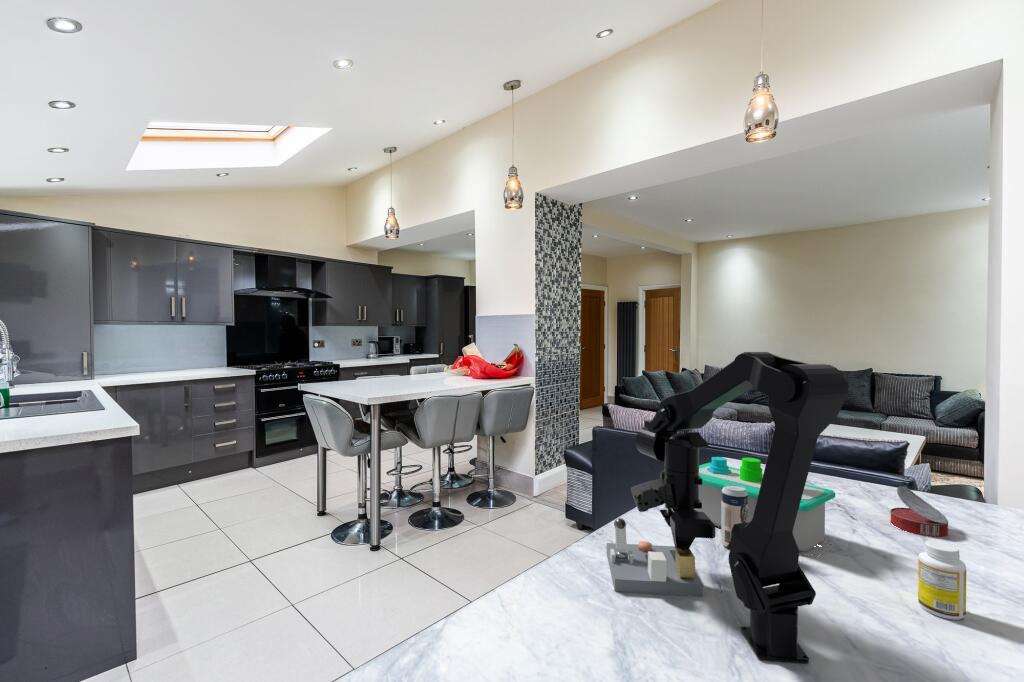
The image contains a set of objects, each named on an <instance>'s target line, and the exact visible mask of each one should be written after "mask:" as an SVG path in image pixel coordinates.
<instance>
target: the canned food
mask: <svg viewBox="0 0 1024 682" xmlns="http://www.w3.org/2000/svg"><path fill="white" fill-rule="evenodd" d="M896 493H897V496H898V497H899V499H900V500H901V502H902V503H903V504H904V505H905V506H906V507H894V508H891V509H890V524H891V523H892V524H893V525H894V526H896V527H898V528H900V529H902V530H901V531H903V530H904V531H903V532H905V531H907V532H906V533H909V534H912V533H913V534H914V535H916V536H917V535H918V536H921V537H927V536H928V537H929V538H945V537H947V536H949V519H947V517H946V515H944V514H942V513H941V511H940V510H938V509H937V508H935V507H933V505H931V504H930V503H928V502H927V501H925V500H924V499H923V498H922V497H920V496H919V495H917V494H916V493H914V491H912V490H911V489H910V488H908V487H907V486H902V485H899V486H898V487H897V488H896ZM894 526H893V527H894ZM896 527H895V528H896ZM898 528H897V529H898ZM900 529H899V530H900Z"/></svg>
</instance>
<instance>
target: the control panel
mask: <svg viewBox="0 0 1024 682" xmlns="http://www.w3.org/2000/svg"><path fill="white" fill-rule="evenodd" d="M727 462H728V460H727V458H725V457H722V456H712V457H711V462H707V463H703V464H699V476H700V477H701V478H702V485H699V500H700V501H701V502H702V509H696V508H694V510H697V511H698V512H704V513H705V514H706V515H707V516H708V517H709V518H710V519H711V521H712V522H713V523H714V524H715V527H718V528H721V507H722V489H723V487H724V486H725V485H738V486H741V487H744V488H745V489H746V492H747V493H748V520H747V522H750V521H751V520H752V518H753V514H754V510H755V506H756V502H757V498H758V494H759V490H760V486H761V482H762V478H763V474H764V473H763V468H762V464H761V463H762V461H761V459H759V458H754V457H742V458H741V465H740V466H739V468H737V467H733V466H728V463H727ZM834 498H836V493H835V491H834V490H832V489H829V488H825V487H820V486H817V485H816V486H815V485H812V484H807V483H806V484H805V487H804V491H803V495H802V498H801V502H800V506H799V509H798V513H797V517H796V520H795V524H794V528H793V535H794V538H795V540H796V543H797V545H798V548H799V554H801V553H802V555H804V554H806V556H808V555H809V556H808V557H811V558H816V557H817V558H818V557H820V556H821V555H823V554H824V553H826V552H827V551H829V550H830V549H831V547H832V548H833V547H835V544H834V543H833V542H830V541H825V536H826V535H825V534H826V533H825V532H826V529H825V528H826V527H825V526H826V503H827V502H828V501H831V500H832V499H834ZM817 544H818V545H821V546H822V547H819V546H817ZM830 544H831V545H830ZM814 546H816V547H814ZM828 549H829V550H828ZM825 551H826V552H825ZM822 553H823V554H822ZM813 554H814V555H813ZM820 554H821V555H820ZM819 555H820V556H819Z"/></svg>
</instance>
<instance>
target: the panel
mask: <svg viewBox="0 0 1024 682" xmlns="http://www.w3.org/2000/svg"><path fill="white" fill-rule="evenodd" d="M648 551H650V552H663V554H664V556H665V558H666V582H662V581H651V579H650V576H649V574H648ZM616 552H627V553H628V560H624V559H616ZM606 556H607V561H608V566H609V567H608V568H609V570H610V571H609V572H610V577H611V580H612V585H613V590H614V592H623V593H624V592H625V593H639V592H641V593H643V594H657V595H658V594H659V595H675V596H688V595H694V596H693V597H703V584H702V582H701V580H700V578H699V576H698V575H697V573H696V572H695V578H685V577H679V575H678V573H677V571H676V569H675V567H676V550H675V545H657V544H652V543H651V542H649V541H645V540H643V541H639V542H638V544H637V543H636V544H634V543H627V550H616V542H606ZM695 595H696V596H695Z"/></svg>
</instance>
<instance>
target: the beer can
mask: <svg viewBox="0 0 1024 682" xmlns="http://www.w3.org/2000/svg"><path fill="white" fill-rule="evenodd" d="M747 520H748V493H747V492H746V489H745V488H744V487H741V486H738V485H725V486H724V487H723V489H722V507H721V527H720V531H721V532H720V543H721V545H723V546H724V547H725V548H726V549H727V546H728V544H729V543H730V540H731V531H732V528H733V526H734V524H738V523H745V522H747Z"/></svg>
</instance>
